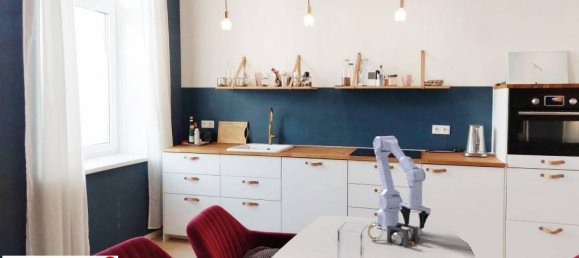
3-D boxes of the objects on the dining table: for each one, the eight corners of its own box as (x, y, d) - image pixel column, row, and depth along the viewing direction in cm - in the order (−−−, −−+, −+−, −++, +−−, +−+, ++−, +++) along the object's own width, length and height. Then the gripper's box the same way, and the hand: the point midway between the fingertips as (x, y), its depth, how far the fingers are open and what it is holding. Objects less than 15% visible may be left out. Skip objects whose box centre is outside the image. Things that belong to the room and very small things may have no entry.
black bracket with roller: (386, 242, 205) (387, 226, 205) (398, 238, 211) (399, 222, 210) (407, 247, 197) (407, 231, 197) (418, 243, 203) (419, 227, 203)
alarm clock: (368, 241, 206) (368, 222, 206) (366, 238, 210) (367, 220, 209) (384, 241, 207) (384, 222, 206) (382, 238, 210) (383, 220, 209)
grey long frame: (400, 246, 200) (401, 234, 199) (391, 243, 203) (391, 231, 203) (422, 238, 210) (422, 227, 210) (412, 235, 214) (412, 225, 214)
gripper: (434, 197, 206) (433, 228, 207) (406, 192, 217) (405, 221, 218) (425, 199, 202) (424, 231, 203) (397, 194, 212) (396, 224, 213)
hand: (414, 226), depth 210 cm, fingers open, 7 cm apart
